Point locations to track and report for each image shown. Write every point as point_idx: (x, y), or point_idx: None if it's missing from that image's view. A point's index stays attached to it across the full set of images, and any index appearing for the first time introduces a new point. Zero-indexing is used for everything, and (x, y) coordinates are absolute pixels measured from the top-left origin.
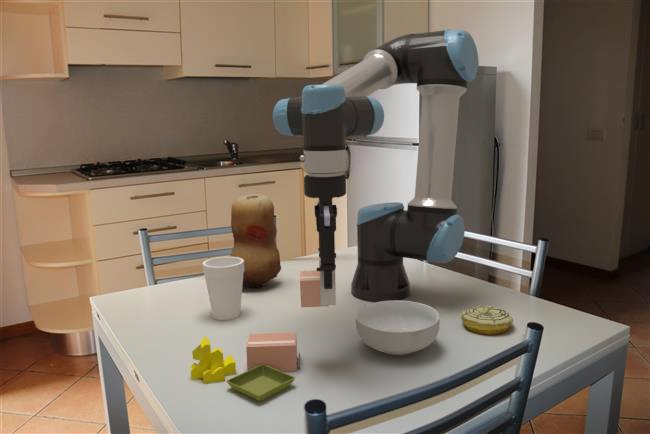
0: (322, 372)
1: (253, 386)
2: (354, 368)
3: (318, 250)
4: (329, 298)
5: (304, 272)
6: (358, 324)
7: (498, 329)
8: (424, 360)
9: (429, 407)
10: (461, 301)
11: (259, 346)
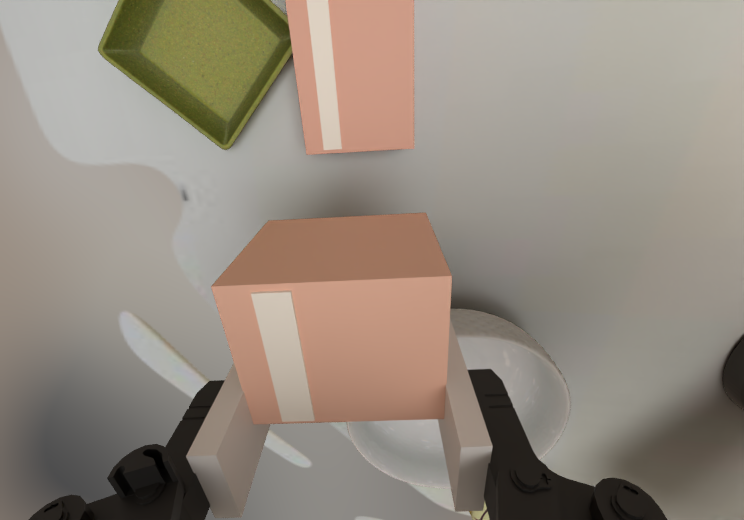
0: (315, 209)
1: (209, 18)
2: None
3: (615, 496)
4: None
5: (410, 305)
6: None
7: None
8: None
9: (201, 380)
10: (652, 480)
11: (288, 10)
